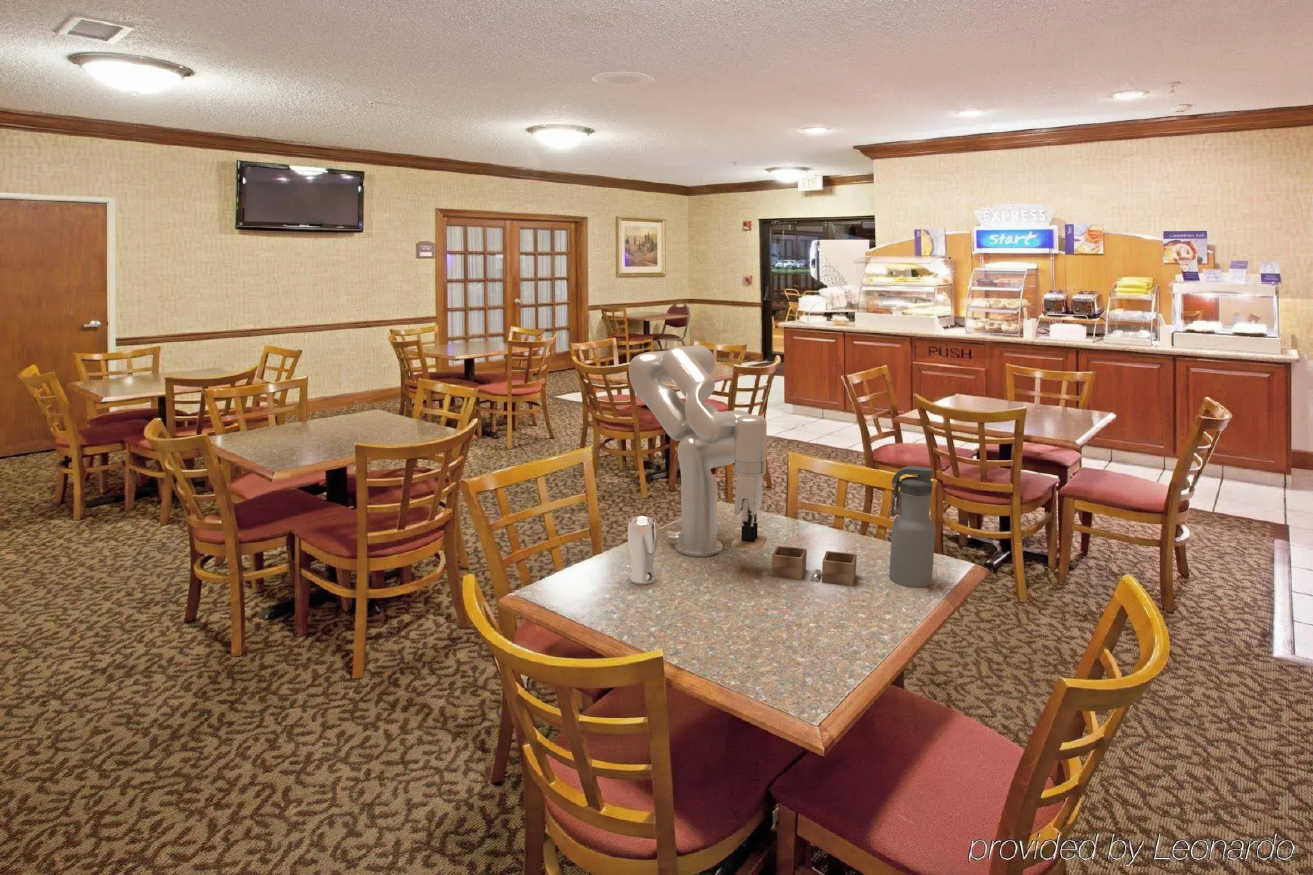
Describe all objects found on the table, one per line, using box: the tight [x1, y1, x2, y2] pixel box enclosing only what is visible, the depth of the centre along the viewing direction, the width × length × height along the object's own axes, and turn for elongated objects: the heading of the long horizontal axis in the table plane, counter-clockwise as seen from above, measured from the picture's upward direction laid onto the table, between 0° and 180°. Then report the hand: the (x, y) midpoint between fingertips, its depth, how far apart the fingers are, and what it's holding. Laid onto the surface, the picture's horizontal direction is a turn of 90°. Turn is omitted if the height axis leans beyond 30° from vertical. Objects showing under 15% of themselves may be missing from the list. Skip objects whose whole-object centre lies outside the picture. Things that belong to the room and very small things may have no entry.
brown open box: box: [771, 545, 808, 581], centre depth 195 cm, size 7×7×6 cm
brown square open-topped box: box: [821, 550, 858, 587], centre depth 191 cm, size 7×7×6 cm
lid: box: [731, 517, 768, 550], centre depth 195 cm, size 7×7×7 cm
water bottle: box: [888, 465, 936, 588], centre depth 188 cm, size 10×10×28 cm
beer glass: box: [627, 516, 658, 585], centre depth 191 cm, size 7×7×15 cm
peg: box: [810, 568, 822, 583], centre depth 192 cm, size 5×2×2 cm
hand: (749, 539), depth 196 cm, fingers closed on lid
